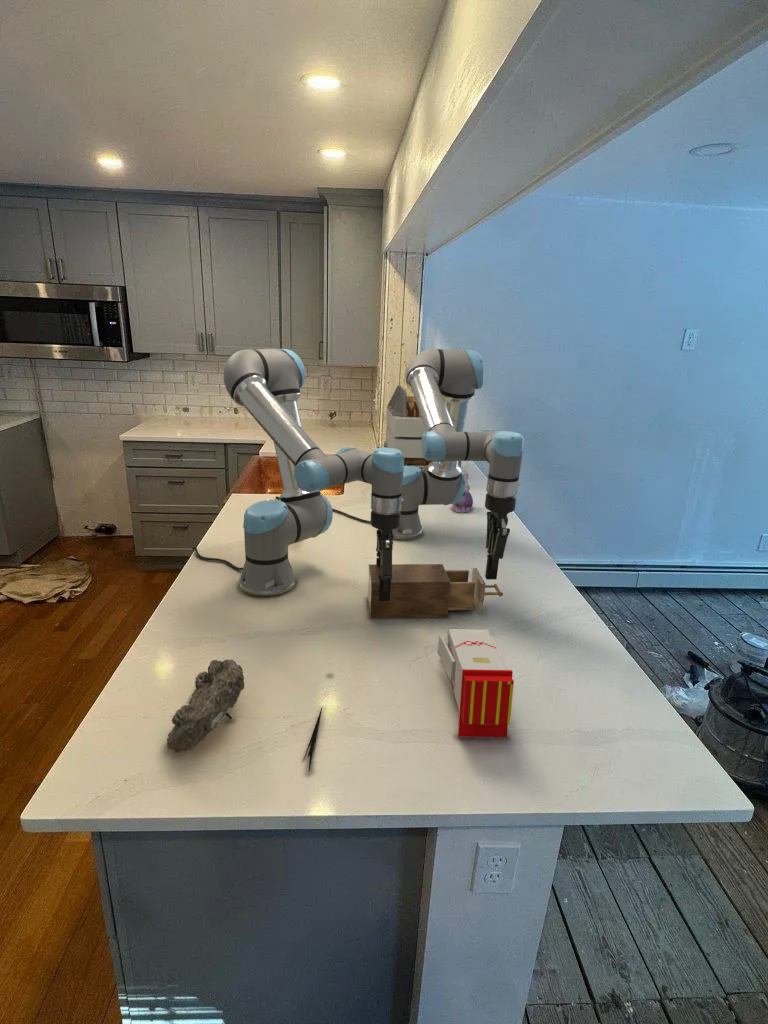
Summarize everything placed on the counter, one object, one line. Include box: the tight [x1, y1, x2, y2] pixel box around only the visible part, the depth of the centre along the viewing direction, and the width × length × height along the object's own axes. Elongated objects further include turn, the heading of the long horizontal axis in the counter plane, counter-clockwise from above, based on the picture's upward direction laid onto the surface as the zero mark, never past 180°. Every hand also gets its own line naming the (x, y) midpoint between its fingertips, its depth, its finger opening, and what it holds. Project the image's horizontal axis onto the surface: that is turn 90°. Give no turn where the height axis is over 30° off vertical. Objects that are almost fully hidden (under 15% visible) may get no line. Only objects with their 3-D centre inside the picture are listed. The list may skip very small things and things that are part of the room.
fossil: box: [166, 658, 245, 754], centre depth 106 cm, size 22×10×15 cm
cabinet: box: [367, 563, 450, 619], centre depth 149 cm, size 20×10×10 cm, turn 95°
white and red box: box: [437, 628, 515, 738], centre depth 117 cm, size 12×13×30 cm
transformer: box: [383, 384, 465, 469], centre depth 268 cm, size 34×33×41 cm
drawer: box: [445, 567, 504, 613], centre depth 150 cm, size 24×9×8 cm, turn 95°
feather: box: [301, 673, 332, 771], centre depth 108 cm, size 2×28×2 cm
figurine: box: [451, 472, 474, 514], centre depth 225 cm, size 9×10×15 cm
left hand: (382, 590), depth 148 cm, fingers closed on cabinet, 10 cm apart
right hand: (490, 578), depth 150 cm, fingers closed
